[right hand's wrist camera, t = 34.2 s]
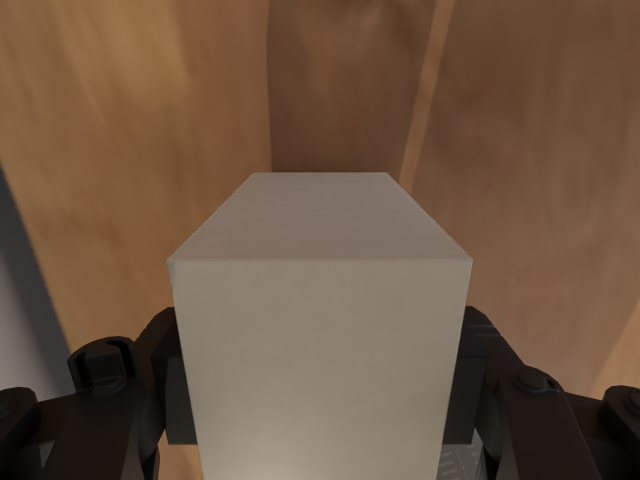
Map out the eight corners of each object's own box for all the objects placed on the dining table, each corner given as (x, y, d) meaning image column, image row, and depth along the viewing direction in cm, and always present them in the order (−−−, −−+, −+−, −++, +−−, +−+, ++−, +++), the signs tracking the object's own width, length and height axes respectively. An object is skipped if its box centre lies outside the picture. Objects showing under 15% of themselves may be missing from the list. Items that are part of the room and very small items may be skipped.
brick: (386, 172, 16) (474, 259, 7) (377, 310, 19) (432, 505, 10) (252, 172, 16) (165, 259, 7) (262, 310, 19) (207, 505, 10)
